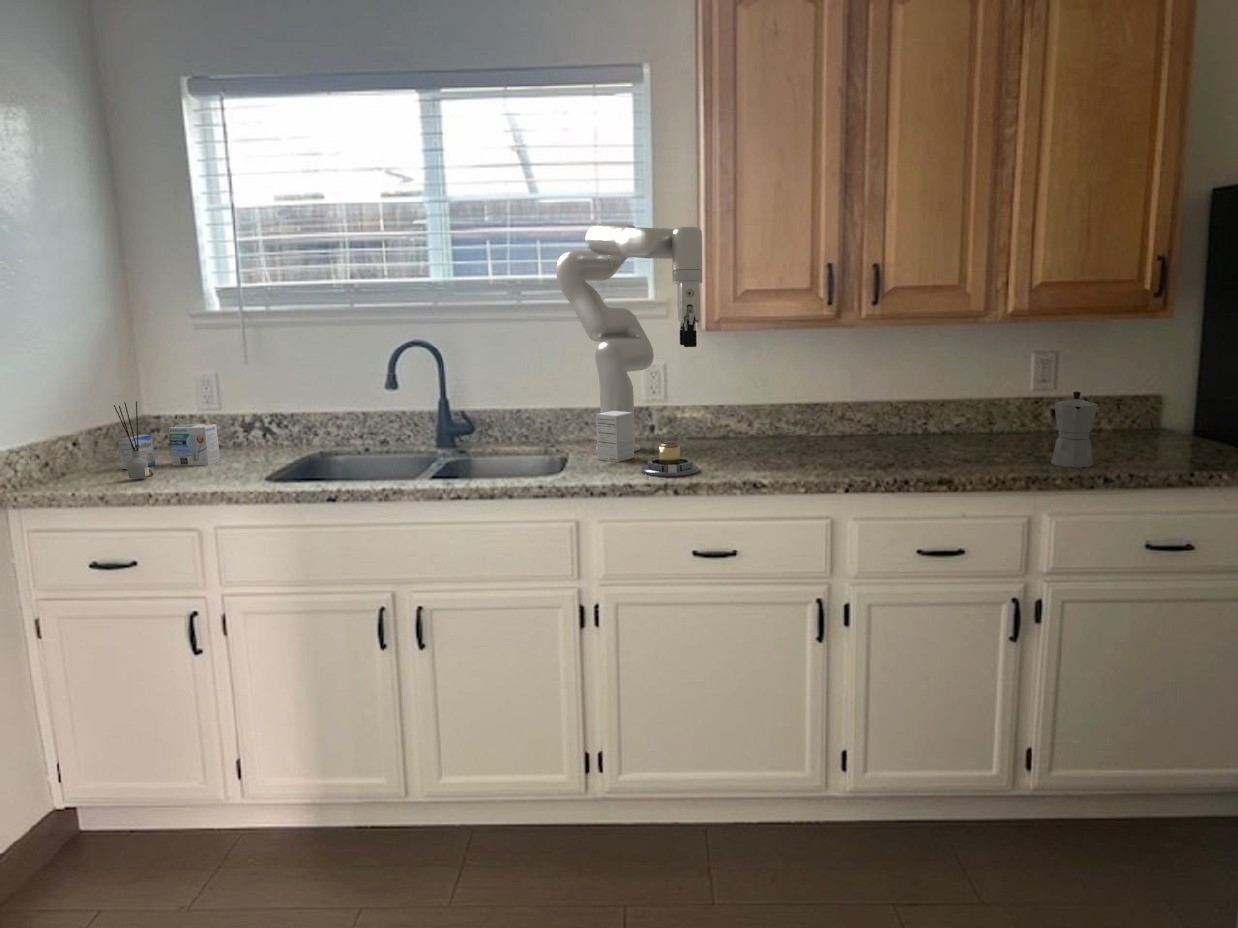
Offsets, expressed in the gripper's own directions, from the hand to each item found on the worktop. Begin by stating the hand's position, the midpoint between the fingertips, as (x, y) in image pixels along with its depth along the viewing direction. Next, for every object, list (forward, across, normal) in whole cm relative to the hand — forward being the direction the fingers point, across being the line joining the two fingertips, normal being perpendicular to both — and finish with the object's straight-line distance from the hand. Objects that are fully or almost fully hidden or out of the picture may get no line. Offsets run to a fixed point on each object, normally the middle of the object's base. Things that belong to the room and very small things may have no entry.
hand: (688, 346), depth 226 cm
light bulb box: (+31, +19, +136) cm, 141 cm away
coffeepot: (+31, -16, -93) cm, 99 cm away
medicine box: (+31, +15, +150) cm, 154 cm away
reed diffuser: (+31, -2, +142) cm, 145 cm away
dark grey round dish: (+30, -12, +6) cm, 33 cm away
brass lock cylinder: (+29, -12, +6) cm, 32 cm away
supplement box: (+31, +8, +19) cm, 37 cm away
